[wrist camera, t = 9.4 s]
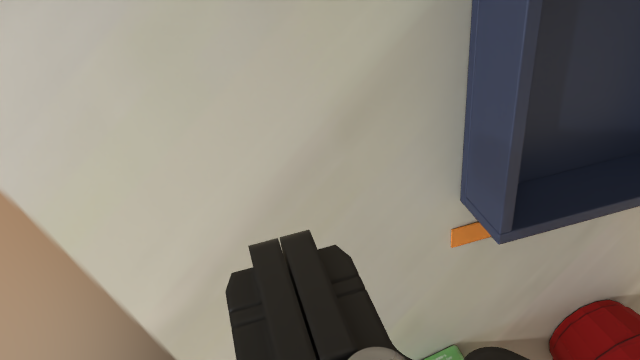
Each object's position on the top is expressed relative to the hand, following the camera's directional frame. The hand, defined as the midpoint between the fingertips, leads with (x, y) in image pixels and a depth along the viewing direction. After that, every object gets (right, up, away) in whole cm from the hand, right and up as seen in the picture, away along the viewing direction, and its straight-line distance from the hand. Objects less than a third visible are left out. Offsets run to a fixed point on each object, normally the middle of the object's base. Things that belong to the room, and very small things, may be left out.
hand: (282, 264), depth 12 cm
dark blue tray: (+13, +8, +10) cm, 18 cm away
